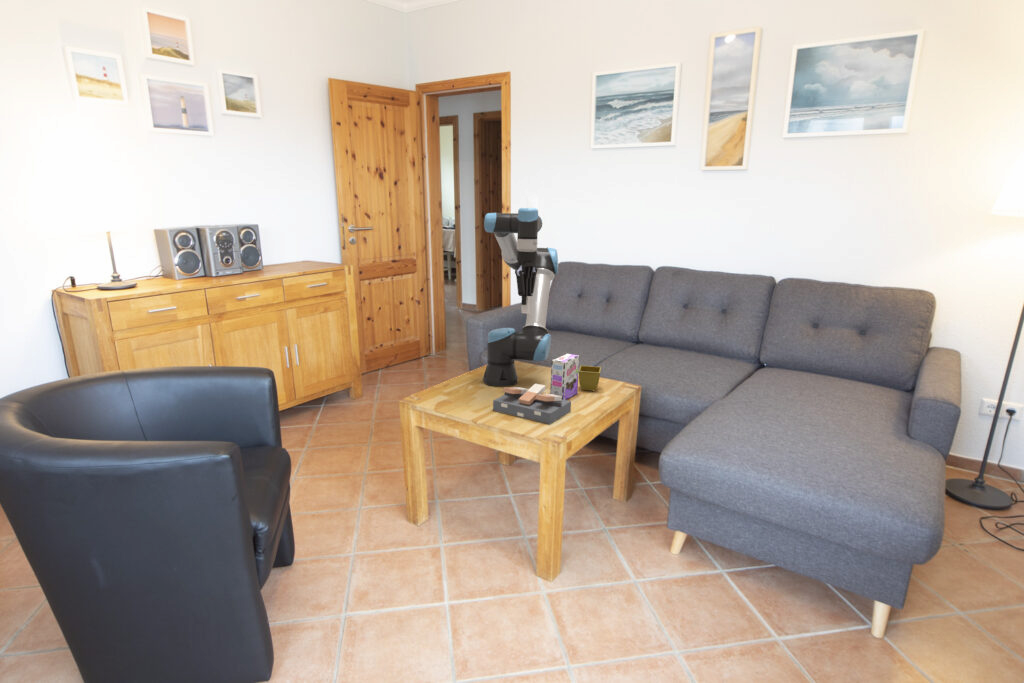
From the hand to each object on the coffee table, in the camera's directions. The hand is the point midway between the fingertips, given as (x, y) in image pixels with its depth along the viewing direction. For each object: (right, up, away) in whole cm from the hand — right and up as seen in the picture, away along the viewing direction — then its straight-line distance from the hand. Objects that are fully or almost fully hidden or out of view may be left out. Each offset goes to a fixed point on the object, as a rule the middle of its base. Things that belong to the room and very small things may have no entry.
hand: (525, 313), depth 213 cm
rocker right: (+8, -31, -11) cm, 34 cm away
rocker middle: (+2, -30, -7) cm, 31 cm away
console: (+2, -37, -6) cm, 37 cm away
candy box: (+16, -33, +11) cm, 39 cm away
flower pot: (+27, -31, +22) cm, 47 cm away
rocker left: (-3, -29, -4) cm, 30 cm away
